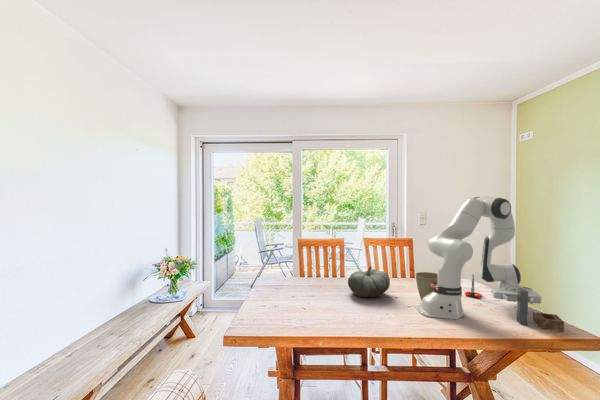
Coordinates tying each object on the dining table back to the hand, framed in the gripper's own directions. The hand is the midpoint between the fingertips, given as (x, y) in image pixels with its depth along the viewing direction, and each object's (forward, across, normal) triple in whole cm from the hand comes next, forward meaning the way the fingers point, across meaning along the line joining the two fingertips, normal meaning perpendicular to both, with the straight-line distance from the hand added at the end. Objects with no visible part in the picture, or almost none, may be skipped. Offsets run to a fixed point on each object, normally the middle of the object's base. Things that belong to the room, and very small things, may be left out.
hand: (520, 300), depth 149 cm
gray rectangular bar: (+3, 0, +10) cm, 10 cm away
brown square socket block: (+3, +10, +10) cm, 14 cm away
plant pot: (-8, -41, +10) cm, 43 cm away
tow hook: (-33, -16, +10) cm, 38 cm away
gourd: (-9, -75, +10) cm, 77 cm away
